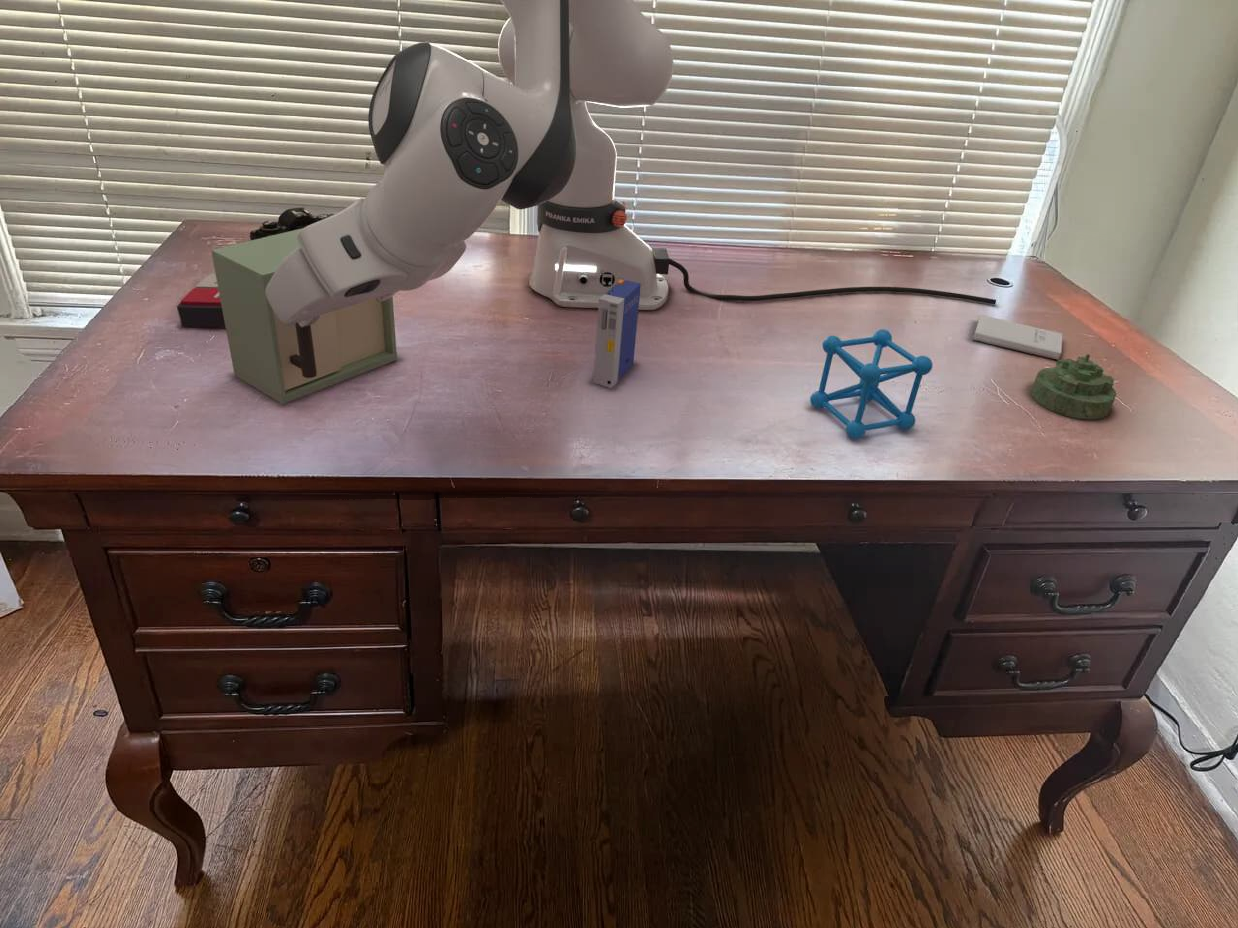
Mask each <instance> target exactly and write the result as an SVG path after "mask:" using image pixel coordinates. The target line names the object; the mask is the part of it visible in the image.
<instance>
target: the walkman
mask: <svg viewBox="0 0 1238 928" xmlns="http://www.w3.org/2000/svg"><path fill="white" fill-rule="evenodd" d="M640 288H641V283H636V282H632V281H627V280H623V279H620V280H619V281H618V282H617V284H616V285H614V286H613V287H612V288H611V289H610V290H609V291H607V292H606V293H605V294H604V295H603V296H602V297H601V298H599V306H598V308H597V323H596V324H597V325H596V336H595V337H596V338H595V352H594V367H593V368H594V369H593V380H592V381H593V384H595V385H600V386H602V387H605V388H609V389H613V388H614V386H615V385H616V384H618V381H620V380H621V378H623V376H624V375H625V374H626V373H627V372H628V371H629V370H631V369H630V368H632V367H633V366H634V363H635V361H634V360H635V350H636V341H637V328H638V320H639V319H638V318H639V310H638V309H639V298H640Z"/></svg>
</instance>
